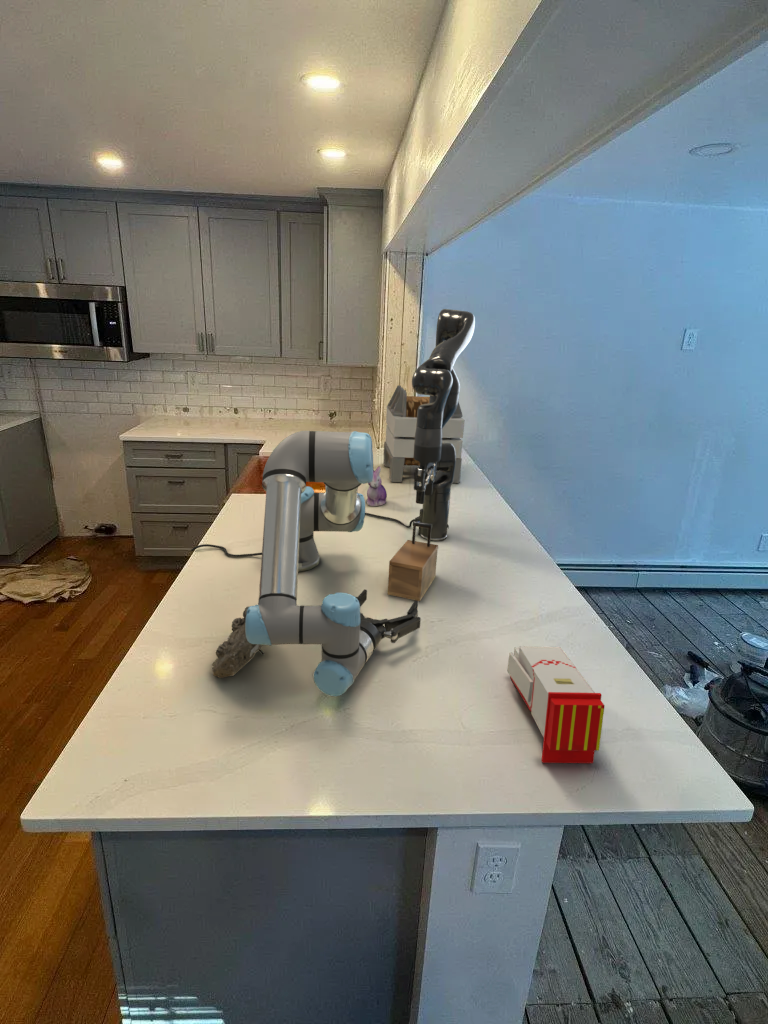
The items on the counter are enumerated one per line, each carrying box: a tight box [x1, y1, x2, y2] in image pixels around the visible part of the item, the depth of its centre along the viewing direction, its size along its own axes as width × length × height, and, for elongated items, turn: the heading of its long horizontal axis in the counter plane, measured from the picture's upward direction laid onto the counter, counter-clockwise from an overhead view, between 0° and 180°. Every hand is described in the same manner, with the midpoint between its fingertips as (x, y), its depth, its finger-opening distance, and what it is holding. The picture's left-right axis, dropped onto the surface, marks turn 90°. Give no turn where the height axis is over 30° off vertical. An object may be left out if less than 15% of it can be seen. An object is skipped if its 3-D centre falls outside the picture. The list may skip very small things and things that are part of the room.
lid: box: [388, 521, 439, 571], centre depth 159 cm, size 17×9×8 cm, turn 160°
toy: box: [506, 645, 605, 764], centre depth 112 cm, size 12×13×30 cm
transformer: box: [383, 384, 465, 484], centre depth 268 cm, size 34×33×41 cm
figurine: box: [365, 466, 388, 507], centre depth 227 cm, size 9×10×15 cm
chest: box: [387, 550, 438, 602], centre depth 162 cm, size 16×9×9 cm, turn 160°
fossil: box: [211, 605, 265, 679], centre depth 126 cm, size 22×10×15 cm
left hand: (390, 599), depth 143 cm, fingers open, 13 cm apart
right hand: (424, 499), depth 161 cm, fingers open, 8 cm apart
